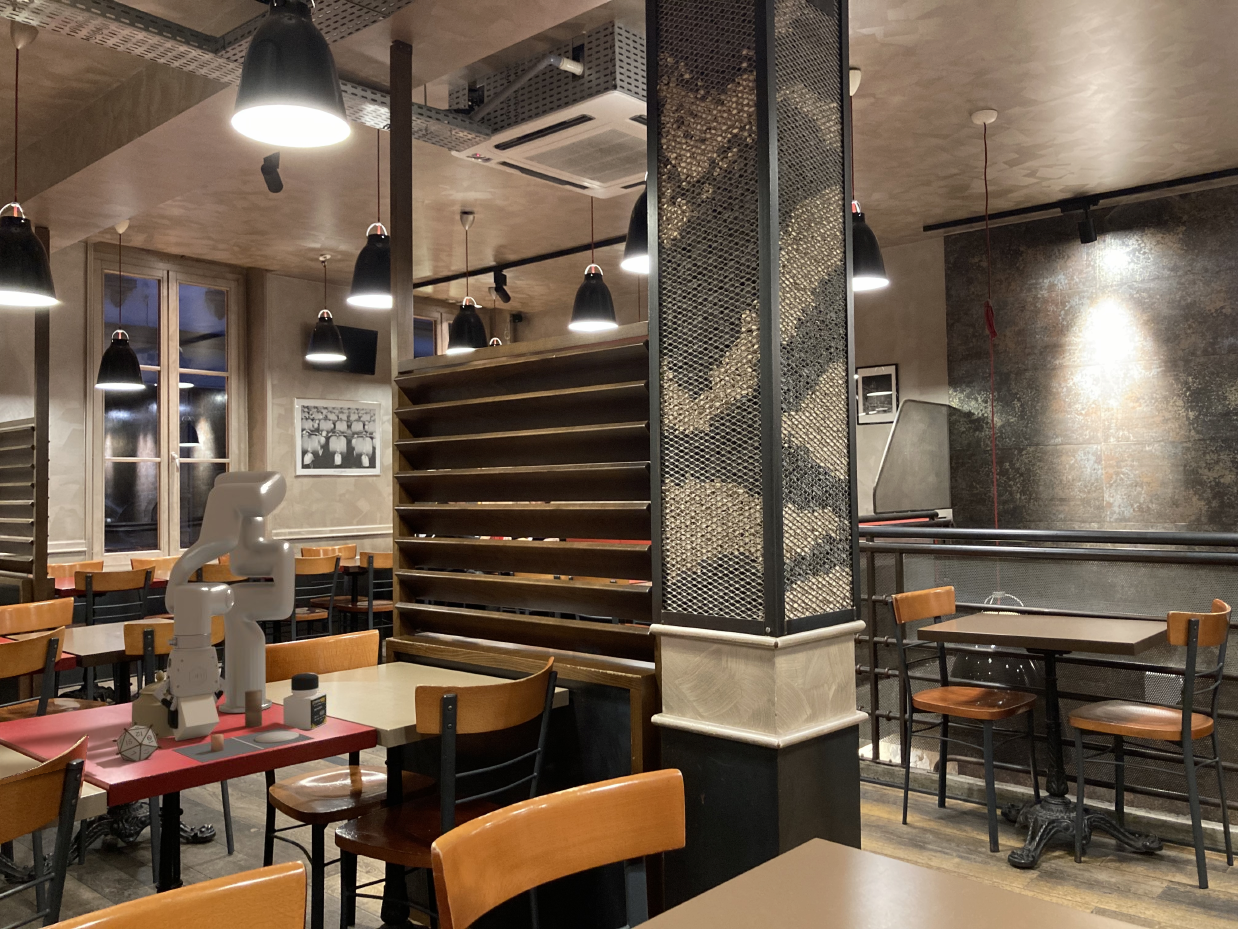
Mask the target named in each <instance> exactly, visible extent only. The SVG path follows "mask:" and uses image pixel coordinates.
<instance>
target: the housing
mask: <svg viewBox="0 0 1238 929" xmlns="http://www.w3.org/2000/svg"><path fill="white" fill-rule="evenodd" d="M169 697H170V695H168V697H167V699H169ZM177 710H178V728H177V729H173V732H174V736H173V737H174V739H175V742H178V741H184V740H190V739H195V738H202V737H205V736H209V735H210V734H211V733H212V732H213V731H214V729H215V728H216V727H217V726H218V724H219V723H220V719H219V714H218V710H217V706H216V704H215V702H214V698H213V695H212V693H210V694H204V695H197V696H190V697H182V698H178V705H177Z"/></svg>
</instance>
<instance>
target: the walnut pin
mask: <svg viewBox="0 0 1238 929" xmlns="http://www.w3.org/2000/svg"><path fill="white" fill-rule="evenodd" d="M244 725H245V728H248V729H249V728H250V729H251V728H252V729H253V728H260V727H262V726H263V710H262V690H249V691H245V712H244Z"/></svg>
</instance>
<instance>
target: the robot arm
mask: <svg viewBox="0 0 1238 929" xmlns="http://www.w3.org/2000/svg"><path fill="white" fill-rule="evenodd" d="M286 481H287V480H286V478H285V476H284V475H283V474H282V473H281V472H279V471H275V470H274V471H273V470H257V471H253V470H250V471H248V470H246V471H245V470H242V471H240V470H238V471H228V472H223V473H220V474H218V475H217V476H216V477H215V479H214V484H213V485H214V487H212V489H211V490H210V491H209V493H208V497H207V502H206V504H205V511H204V514H203V518H202V519H203V520H202V523H201V528H200V532H199V538H198V540H197V541H196V542H194V544H192V545H191V546H190V547H188V549H186V550H185V551H184V552H183V553H182V554H181V555H180V556H179V558H178V559H177V561H176V562H175V563H174V564H173V566H172V568H171V570H170V574H169V577H168V582H167V585H166V590H165V596H164V602H165V608H166V611H167V612H168V613H169V614H170V615H172V616H173V635H172V638H168V639H167V640H166V645H167V646H172V648H173V649H170V653H169V656H168V659H167V667H166V673H165V675H166V676H165V682H164V683H163V684H162V685H161V686H160V687H159V688H157V689H156V690H155V691H154V692H153V696H154V697H155V698H156V699H157V700H158V701H159V702H160V703H161V704H162V705H163V706H165V707H166V709H168V725H169V727H170V728H173V729H177V728H178V710H177V705H178V698H182V697H190V696H197V695H204V694H210V693H212V695H213V698H214V702H215V705H217V703H219V700H220V699H221V697H222V696H223V695H224V697H225V699H224V700H225V701H224V702H223V703H220V704H219V705H218V711H219V712H222V713H225V714H227V713H228V714H241V713H244V714H245V691H249V690H262V711H263V710H267V709H269V708H271V707H272V706H273V701H272V699H269V698H267V697H266V694H267V691H266V690H267V689H266V687H267V686H266V684H267V683H266V681H267V680H266V675H267V674H266V636H265V633H264V631H263V630H262V628H261V626H260V625H259V624H258V623H257V621H278V620H285V619H287V618H289V617H290V616H291V615H292V613H293V610H294V605H295V579H296V556H295V551H294V548H293V545H292V544H291V543H290V542H289V541H287V540H285V539H267V538H266V520H265V517H268V516H269V515H271V514H272V513H273V512H274V510H276V509H277V508H278V507H279V506H280V504H281V503H282V502H283V501H284V499H285V496H286V493H287V482H286ZM226 555H228V565H229V571H230V573H231V575H234V576H235V577H239V578H273V581H272V582H259V581H258V582H239V583H233V584H230V585H229V584H227V583H224V582H188V581H189V579H190V578H191V576H192V575H193V574H194V573H195V572H196V571H197V570H198V569H200V568H201V567H203V566H205V565H206V564H208V563H210V562H213V561H215V560H217V559H219V558H222V557H224V556H226ZM217 616H218V617H219V616H222V618H223V623H224V643H225V644H224V647H225V648H224V661H225V663H224V664H225V666H224V670H225V673H224V676H225V678H223V677H221V676H220V669H219V662H218V655H217V650H216V647H215V646H212V617H217ZM165 691H166V693H167V694H168V695H170V697H169V699H167V698H165V696H164V695H163V693H164V692H165Z"/></svg>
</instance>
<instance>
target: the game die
mask: <svg viewBox="0 0 1238 929" xmlns="http://www.w3.org/2000/svg"><path fill="white" fill-rule="evenodd" d="M134 725H135V726H133V727H132V726H131V727H130V728H127V727H123V730H124V732H123V733H122V734H121V735H120V736H119V737H118V738H117V739H116V738H114V739H111V740H112V742H113V743H116V745H117V750H118V751H117V752H115V756H117V757H118V756H119V755H120V756H121V758H122V759H123V761H130V762H131V761H133V762H141V761H144V760H146V759H147V758H148V759H149V757H150V756H152V755H153V754H154V753H155V752H156V751H157V750H158V749H160V750H162V749H163V748H164V747H163V746H161V745H159V743H158V739H156V736H158V733H156V734H154V732H153V730H152V728H151V727H153V724H151V725H150V727H147V726H140V725H137V722H136V721H135V723H134Z"/></svg>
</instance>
